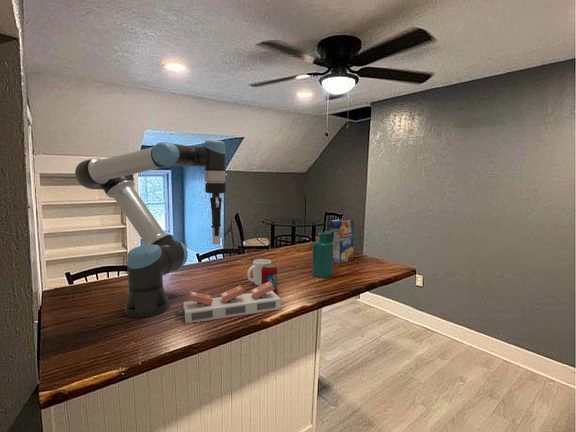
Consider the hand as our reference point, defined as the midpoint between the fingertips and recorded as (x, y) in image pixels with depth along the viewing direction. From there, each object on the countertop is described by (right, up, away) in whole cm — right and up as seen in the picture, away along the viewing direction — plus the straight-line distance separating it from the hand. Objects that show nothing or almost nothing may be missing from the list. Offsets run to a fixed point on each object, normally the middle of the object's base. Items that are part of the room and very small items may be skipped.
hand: (216, 243), depth 125 cm
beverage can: (+20, -22, +13) cm, 33 cm away
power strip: (+6, -24, -6) cm, 26 cm away
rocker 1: (-4, -18, -10) cm, 21 cm away
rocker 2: (+7, -18, -6) cm, 20 cm away
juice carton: (+59, -16, +65) cm, 90 cm away
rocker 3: (+18, -17, -2) cm, 25 cm away
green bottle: (+45, -19, +38) cm, 62 cm away
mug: (+14, -21, +25) cm, 36 cm away
